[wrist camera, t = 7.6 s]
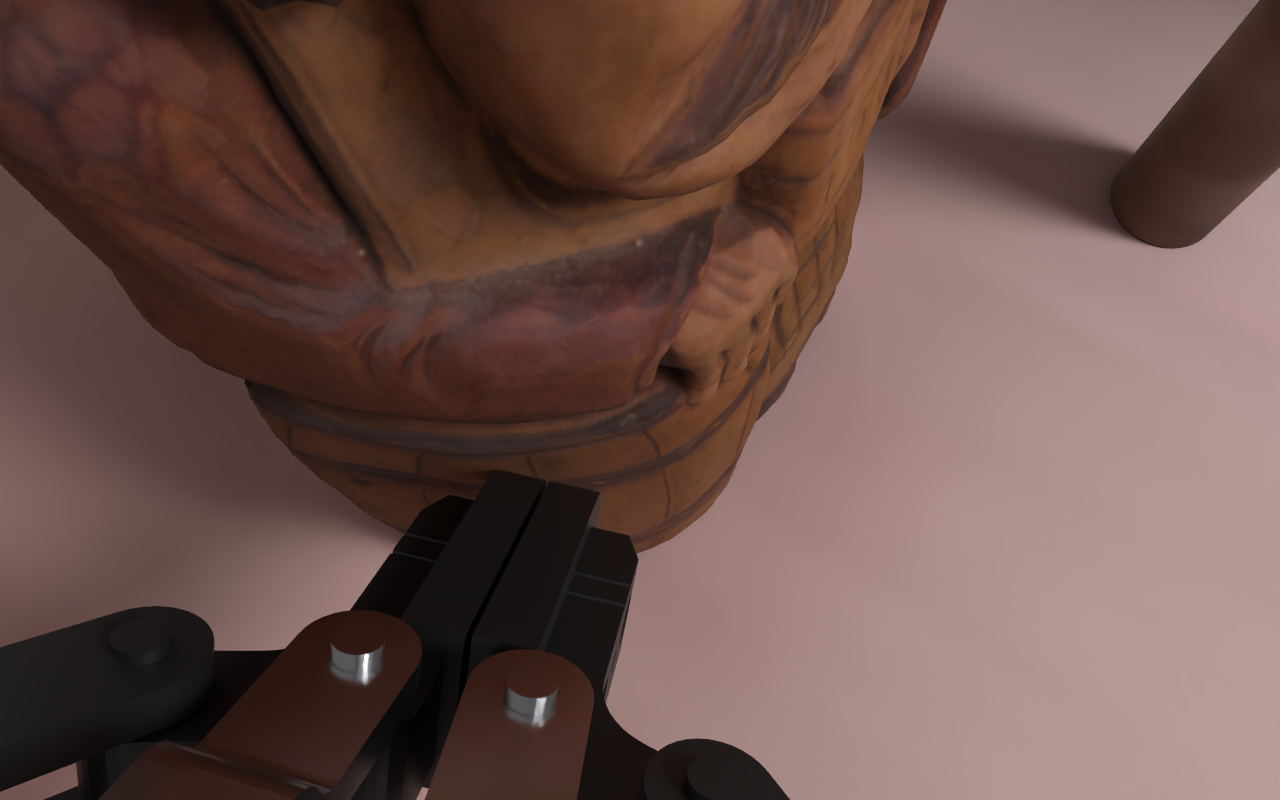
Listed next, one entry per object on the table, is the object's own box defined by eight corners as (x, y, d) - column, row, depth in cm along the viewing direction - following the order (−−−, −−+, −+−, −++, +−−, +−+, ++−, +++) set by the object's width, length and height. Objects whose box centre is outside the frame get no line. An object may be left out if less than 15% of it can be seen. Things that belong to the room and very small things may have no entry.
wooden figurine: (595, 688, 19) (300, 87, 2) (340, 507, 20) (-1118, -779, 3) (892, 242, 22) (1668, -1326, 6) (659, 110, 24) (722, -1507, 7)
